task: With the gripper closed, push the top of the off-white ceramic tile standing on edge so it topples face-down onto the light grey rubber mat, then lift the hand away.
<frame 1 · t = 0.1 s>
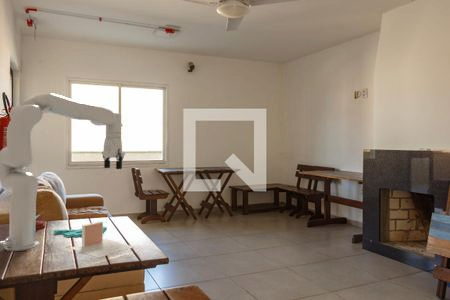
hand: (112, 168, 183), 31 cm above the table, tool pointing down, fingers open, 9 cm apart
mat: (102, 248, 146), on the table
tile: (92, 244, 150), point 1 cm above the table, touching mat
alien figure: (84, 234, 171), on the table
canned food: (34, 228, 180), on the table
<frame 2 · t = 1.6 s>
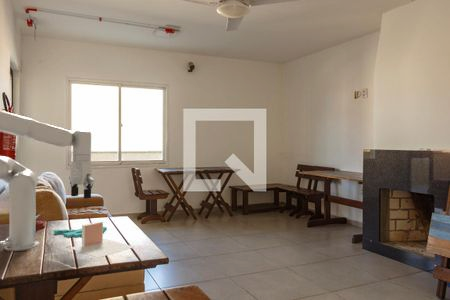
hand: (80, 197, 155), 20 cm above the table, tool pointing down, fingers open, 9 cm apart
nothing on the table moved.
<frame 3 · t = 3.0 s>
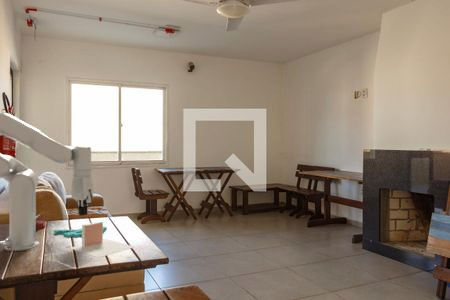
hand: (83, 214, 155), 12 cm above the table, tool pointing down, fingers closed
nothing on the table moved.
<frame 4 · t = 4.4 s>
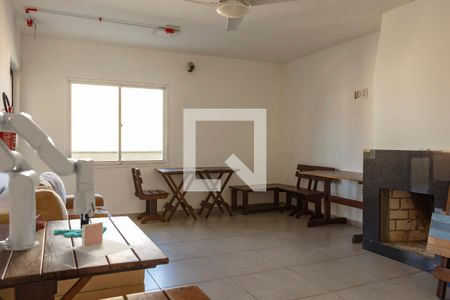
hand: (84, 228, 154), 7 cm above the table, tool pointing down, fingers closed
nothing on the table moved.
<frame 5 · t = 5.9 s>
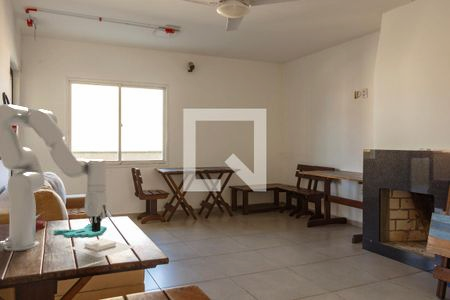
hand: (96, 231, 149), 7 cm above the table, tool pointing down, fingers closed
tile: (93, 242, 150), point 2 cm above the table, tilted 90°, touching mat
everything else where it was.
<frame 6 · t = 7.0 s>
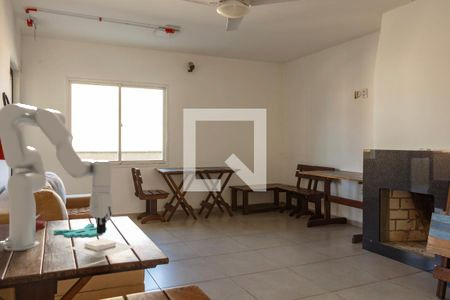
hand: (101, 232, 147), 7 cm above the table, tool pointing down, fingers closed
nothing on the table moved.
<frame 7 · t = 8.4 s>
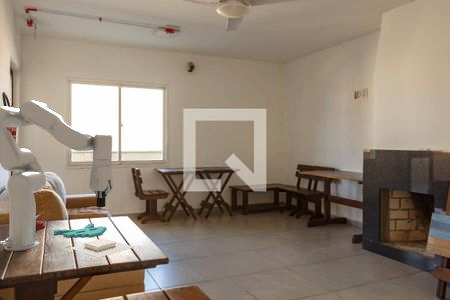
hand: (100, 206, 147), 18 cm above the table, tool pointing down, fingers closed
nothing on the table moved.
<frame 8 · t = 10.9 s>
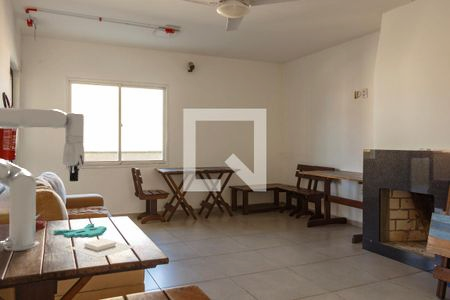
hand: (73, 181, 157), 27 cm above the table, tool pointing down, fingers closed
nothing on the table moved.
at the end: tile tilted 90°; tile inside the target area on the mat (6.9 cm from its centre), point 1.6 cm above the mat's base; tile touching mat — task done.
